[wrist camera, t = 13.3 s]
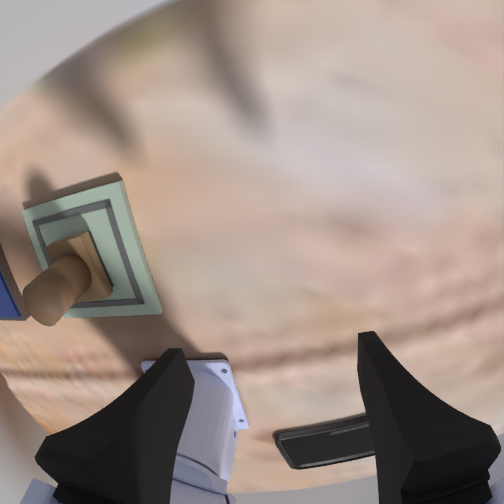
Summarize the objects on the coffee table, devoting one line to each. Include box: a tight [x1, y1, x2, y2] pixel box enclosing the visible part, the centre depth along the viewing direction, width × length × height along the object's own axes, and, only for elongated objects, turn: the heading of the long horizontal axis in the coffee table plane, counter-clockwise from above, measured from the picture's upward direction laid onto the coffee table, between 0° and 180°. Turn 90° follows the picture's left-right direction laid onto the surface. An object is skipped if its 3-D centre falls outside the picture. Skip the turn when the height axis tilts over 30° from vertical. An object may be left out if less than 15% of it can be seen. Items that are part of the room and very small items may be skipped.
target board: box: [21, 180, 163, 318], centre depth 22 cm, size 10×10×1 cm
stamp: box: [23, 231, 114, 326], centre depth 19 cm, size 5×4×6 cm
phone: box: [275, 416, 375, 470], centre depth 29 cm, size 8×1×15 cm
